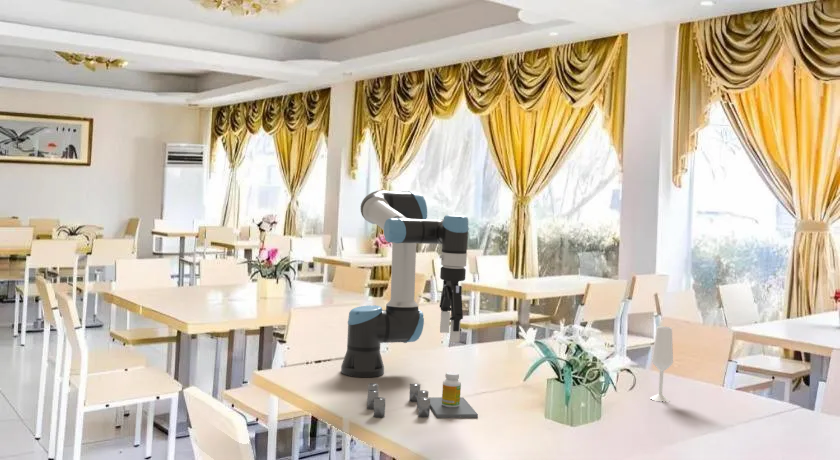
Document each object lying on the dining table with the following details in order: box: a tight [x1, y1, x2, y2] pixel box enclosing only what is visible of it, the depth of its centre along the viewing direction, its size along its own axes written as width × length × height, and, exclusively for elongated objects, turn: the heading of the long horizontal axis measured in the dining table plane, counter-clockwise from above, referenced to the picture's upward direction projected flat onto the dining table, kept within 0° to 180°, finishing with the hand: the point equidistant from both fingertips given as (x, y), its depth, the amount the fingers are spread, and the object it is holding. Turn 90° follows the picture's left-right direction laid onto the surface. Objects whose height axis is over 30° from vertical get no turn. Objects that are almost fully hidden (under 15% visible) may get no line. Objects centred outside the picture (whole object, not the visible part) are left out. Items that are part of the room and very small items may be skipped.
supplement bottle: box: [441, 371, 462, 408], centre depth 225 cm, size 5×5×10 cm
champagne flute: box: [649, 325, 674, 402], centre depth 247 cm, size 7×7×24 cm
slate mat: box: [428, 396, 479, 419], centre depth 225 cm, size 18×12×1 cm, turn 10°
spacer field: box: [366, 382, 431, 419], centre depth 223 cm, size 19×18×5 cm
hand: (449, 337), depth 225 cm, fingers open, 13 cm apart
